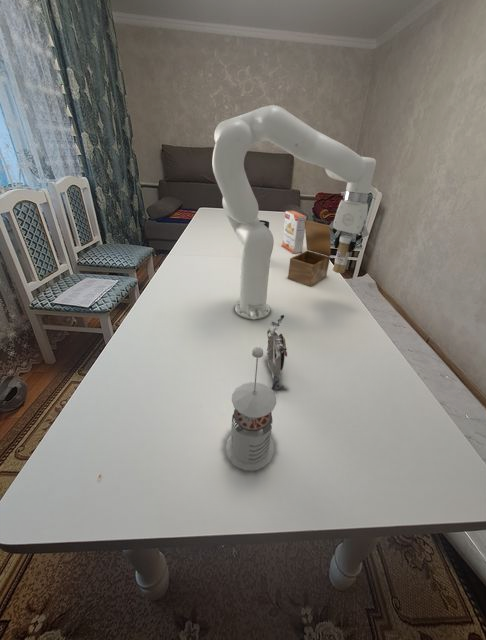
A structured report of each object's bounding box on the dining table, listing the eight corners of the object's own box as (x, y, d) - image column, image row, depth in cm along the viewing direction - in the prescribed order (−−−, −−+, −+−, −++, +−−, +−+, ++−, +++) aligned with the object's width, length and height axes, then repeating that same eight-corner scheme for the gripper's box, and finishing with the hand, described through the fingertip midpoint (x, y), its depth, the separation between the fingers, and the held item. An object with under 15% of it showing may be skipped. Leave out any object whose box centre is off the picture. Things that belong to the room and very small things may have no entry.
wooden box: (310, 286, 129) (314, 265, 124) (287, 278, 134) (290, 258, 130) (326, 276, 140) (330, 257, 135) (304, 269, 146) (307, 250, 141)
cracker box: (281, 245, 176) (285, 210, 166) (290, 245, 179) (294, 210, 169) (293, 253, 165) (297, 216, 155) (302, 252, 168) (307, 215, 158)
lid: (329, 226, 123) (335, 219, 125) (304, 220, 129) (310, 214, 131) (329, 256, 135) (335, 249, 137) (306, 250, 141) (312, 243, 143)
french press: (215, 451, 58) (214, 351, 46) (249, 413, 66) (256, 320, 54) (256, 481, 53) (267, 379, 41) (287, 436, 62) (303, 340, 50)
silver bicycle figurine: (288, 390, 74) (294, 348, 67) (271, 390, 73) (276, 348, 67) (279, 352, 87) (284, 314, 80) (265, 352, 86) (268, 314, 80)
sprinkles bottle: (330, 270, 111) (337, 236, 104) (336, 268, 114) (343, 234, 107) (341, 274, 108) (349, 239, 102) (346, 271, 111) (355, 237, 105)
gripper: (328, 194, 100) (318, 245, 108) (377, 203, 91) (362, 258, 100) (337, 192, 105) (327, 242, 114) (384, 201, 97) (369, 253, 105)
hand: (343, 249), depth 107 cm, fingers closed on sprinkles bottle, 4 cm apart
